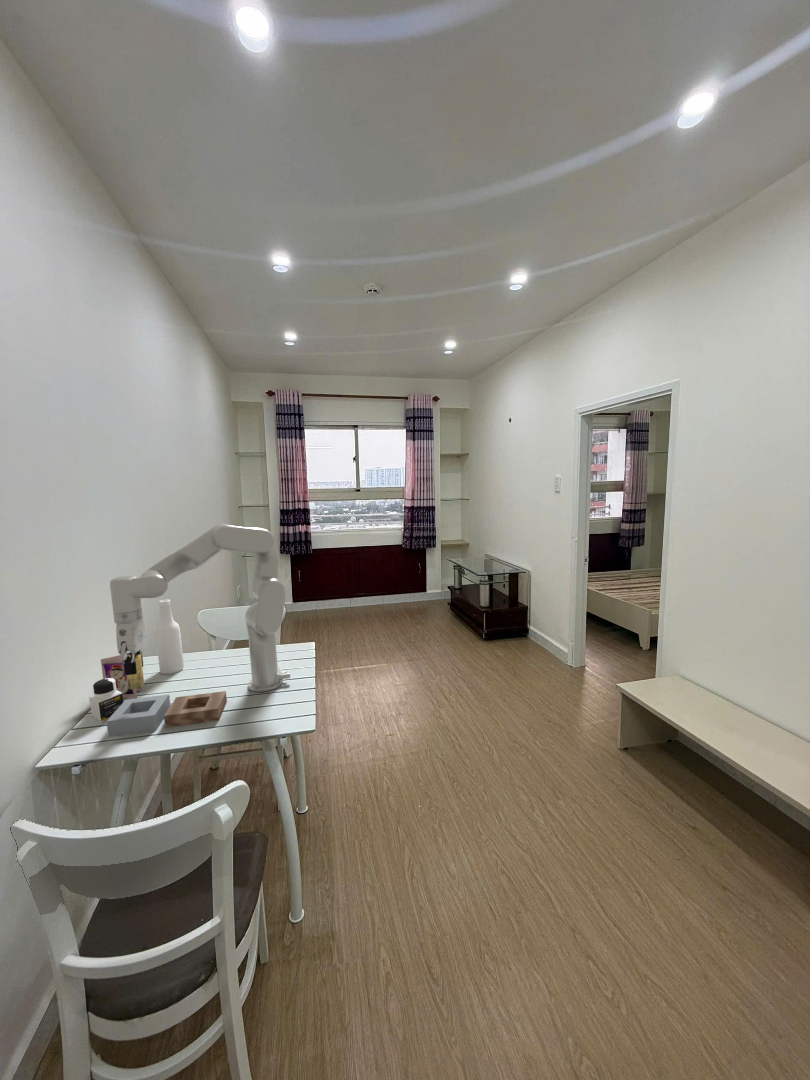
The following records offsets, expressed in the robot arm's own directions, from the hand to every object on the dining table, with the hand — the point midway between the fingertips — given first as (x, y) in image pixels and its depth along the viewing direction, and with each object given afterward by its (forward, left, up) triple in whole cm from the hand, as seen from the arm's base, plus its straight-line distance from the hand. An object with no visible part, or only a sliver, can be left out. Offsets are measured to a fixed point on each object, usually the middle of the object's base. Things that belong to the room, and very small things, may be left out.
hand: (134, 670), depth 133 cm
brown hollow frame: (-17, 0, -18) cm, 25 cm away
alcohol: (+3, -40, -18) cm, 44 cm away
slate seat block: (0, 0, -18) cm, 18 cm away
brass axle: (0, 0, -5) cm, 5 cm away
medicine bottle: (+13, -8, -18) cm, 23 cm away
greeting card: (+13, -22, -18) cm, 31 cm away
